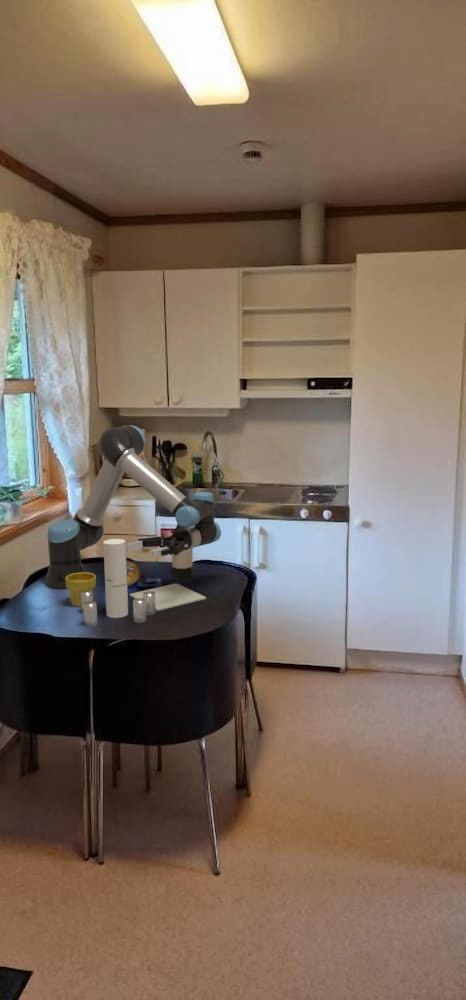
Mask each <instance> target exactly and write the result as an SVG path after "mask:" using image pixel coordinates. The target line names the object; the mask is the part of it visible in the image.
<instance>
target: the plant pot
mask: <svg viewBox="0 0 466 1000" xmlns="http://www.w3.org/2000/svg"><path fill="white" fill-rule="evenodd" d="M96 586H97V577H96V574H94V573H91V572H86V571H85V572H81V573H73V574H70V575H68V576H67V577H66V587H67V588H66V589H67V590H68V594H69V597H70V601H71V605H72V606H74V607H81V591H84V590H92V591H93V592H94V588H95V587H96Z"/></svg>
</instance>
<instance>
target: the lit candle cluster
mask: <svg viewBox="0 0 466 1000" xmlns="http://www.w3.org/2000/svg"><path fill="white" fill-rule="evenodd" d="M127 596H129V594H128V589H127ZM80 607H81V613H82V614H83V619H84V620H83V621H84V626H85V627H95V626H97V625H98V612H97V602H96V601H94V590H93V591H92V590H84V591H81V606H80ZM132 607H133V609H132V612H133V622H134V623H136V624H142V623H145V622H147V616H153V615H155V614H157V611H156V601H155V592H153V591H147V592H144V593H143V598H136V599H135V598H133V600H132Z"/></svg>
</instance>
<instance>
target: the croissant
mask: <svg viewBox="0 0 466 1000" xmlns="http://www.w3.org/2000/svg"><path fill="white" fill-rule="evenodd" d="M126 565H127V566H130V567H131V568H133V571H132V570H130V569H129V573H128V575H127V587H128V586H129V587H130V586H132V585H134V584H135V583H136V582H138V581H139V580H140V575H141V574H140V570H139V567H138V566H137V565H136V564H135V563H134V562H130V561H126Z"/></svg>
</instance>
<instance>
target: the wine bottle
mask: <svg viewBox="0 0 466 1000" xmlns="http://www.w3.org/2000/svg"><path fill="white" fill-rule="evenodd" d="M176 523H177V522H176ZM182 529H185V528H184V527H181V526H180V525H179V524H178V523H177V525H176V526H175V528H174V530H173V533H174V532H175V531H178V530H182ZM173 533H172V534H173ZM193 557H194V556H193V549H187V550H184V551H182V552H181V553H179V554H178V555H174V554H172V555H171V567H172V569H171V573H172V574H171V575H172V576H171V577H172V578H174V579H176V580H183V579H184V580H186V579H190V578H193V575H194V574H193V572H194V571H193V570H194V569H193V565H194V564H193Z"/></svg>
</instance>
